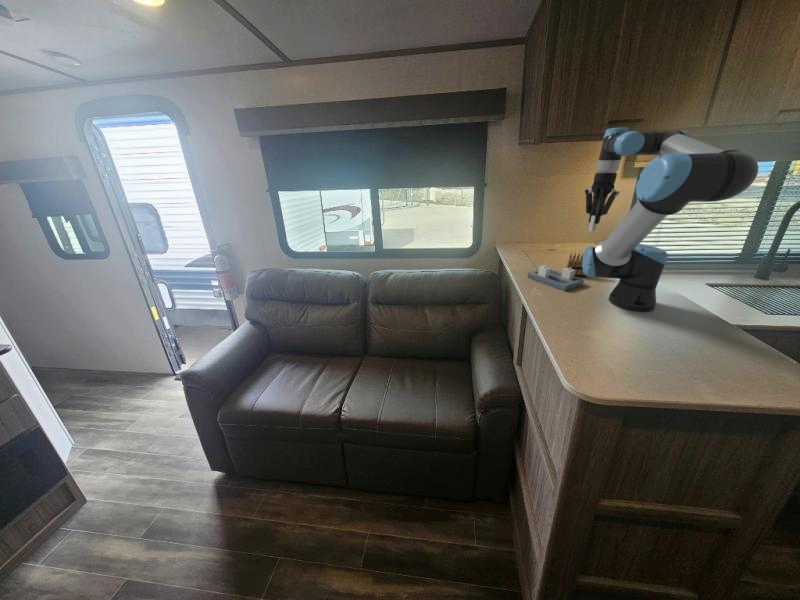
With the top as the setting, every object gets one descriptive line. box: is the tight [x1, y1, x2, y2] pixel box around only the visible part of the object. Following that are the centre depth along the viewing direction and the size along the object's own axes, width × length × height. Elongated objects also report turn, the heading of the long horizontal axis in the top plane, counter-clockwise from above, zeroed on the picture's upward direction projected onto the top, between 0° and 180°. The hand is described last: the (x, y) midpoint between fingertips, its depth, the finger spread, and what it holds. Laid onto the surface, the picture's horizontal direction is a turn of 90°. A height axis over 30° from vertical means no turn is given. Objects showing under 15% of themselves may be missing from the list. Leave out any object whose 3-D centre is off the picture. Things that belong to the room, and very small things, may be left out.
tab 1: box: [537, 265, 552, 278], centre depth 143 cm, size 4×3×6 cm
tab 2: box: [561, 267, 575, 280], centre depth 140 cm, size 4×3×6 cm
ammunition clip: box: [565, 252, 589, 278], centre depth 146 cm, size 11×2×12 cm, turn 79°
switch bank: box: [527, 268, 585, 292], centre depth 143 cm, size 20×13×3 cm, turn 28°
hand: (591, 230), depth 131 cm, fingers closed
